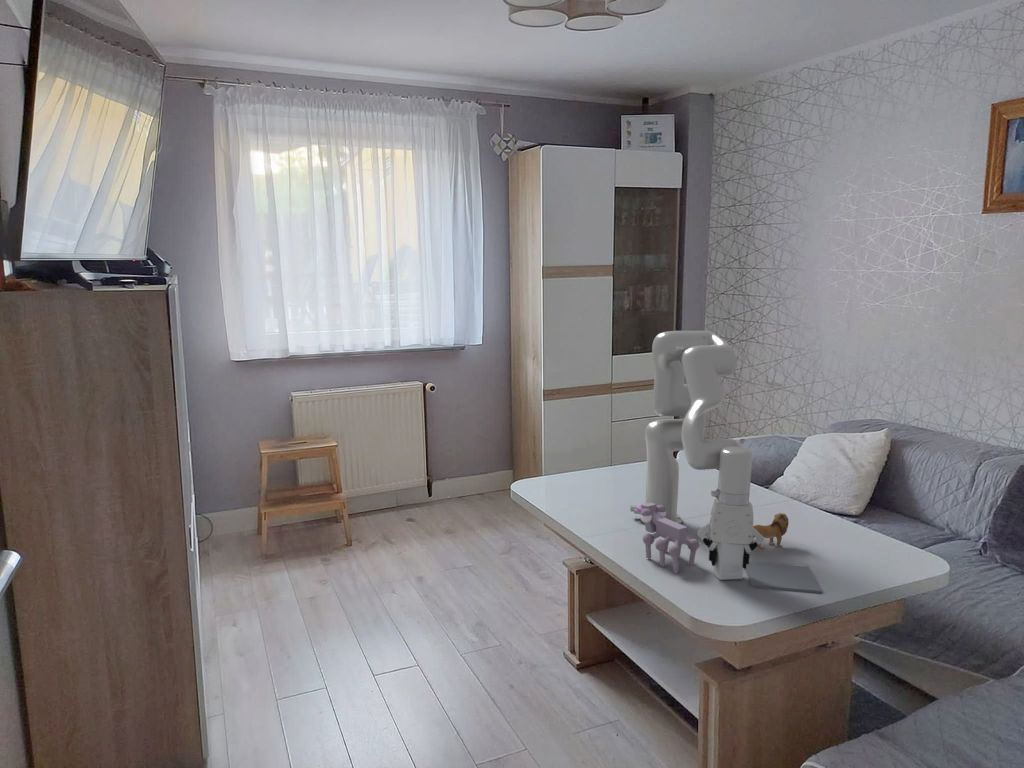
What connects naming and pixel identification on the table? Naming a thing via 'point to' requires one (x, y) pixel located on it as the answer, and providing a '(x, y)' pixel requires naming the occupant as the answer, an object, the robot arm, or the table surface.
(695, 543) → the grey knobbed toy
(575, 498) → the table surface
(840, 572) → the table surface
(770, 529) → the lion figurine
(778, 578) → the mat
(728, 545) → the skincare box
